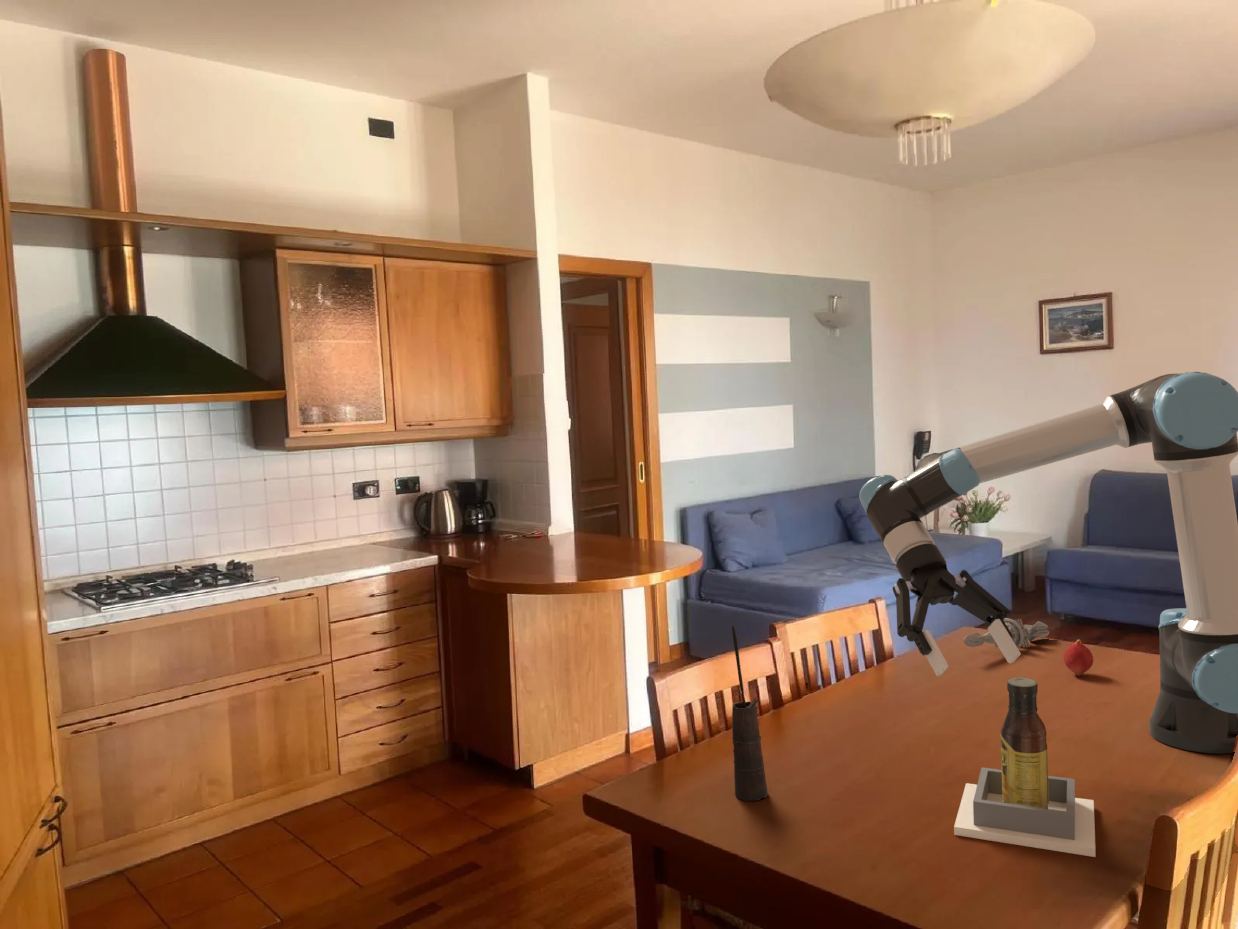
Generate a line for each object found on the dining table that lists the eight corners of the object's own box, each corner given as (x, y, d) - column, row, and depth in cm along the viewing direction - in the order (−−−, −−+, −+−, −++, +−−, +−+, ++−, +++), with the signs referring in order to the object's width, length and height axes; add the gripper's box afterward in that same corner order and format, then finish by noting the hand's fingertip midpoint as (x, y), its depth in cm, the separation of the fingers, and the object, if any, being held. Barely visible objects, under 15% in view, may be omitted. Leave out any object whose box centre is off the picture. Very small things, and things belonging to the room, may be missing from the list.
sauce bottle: (1010, 799, 140) (1007, 671, 138) (1054, 809, 136) (1051, 677, 134) (996, 816, 135) (993, 682, 133) (1041, 827, 131) (1039, 689, 129)
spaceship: (945, 628, 215) (974, 620, 209) (1027, 617, 236) (1055, 610, 230) (955, 662, 213) (984, 655, 207) (1037, 648, 233) (1066, 641, 227)
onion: (1057, 673, 203) (1057, 638, 202) (1078, 670, 204) (1078, 634, 204) (1078, 681, 197) (1077, 644, 197) (1099, 677, 199) (1099, 641, 198)
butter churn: (765, 776, 156) (758, 613, 154) (795, 798, 147) (789, 624, 145) (716, 787, 152) (709, 620, 150) (744, 809, 143) (737, 632, 142)
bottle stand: (1093, 808, 138) (1093, 777, 138) (1095, 857, 124) (1095, 823, 124) (966, 790, 146) (965, 761, 146) (954, 835, 132) (953, 803, 132)
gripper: (965, 560, 162) (1031, 666, 149) (843, 576, 154) (901, 689, 141) (986, 534, 157) (1056, 641, 144) (860, 549, 149) (922, 663, 135)
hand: (979, 665), depth 142 cm, fingers open, 13 cm apart
